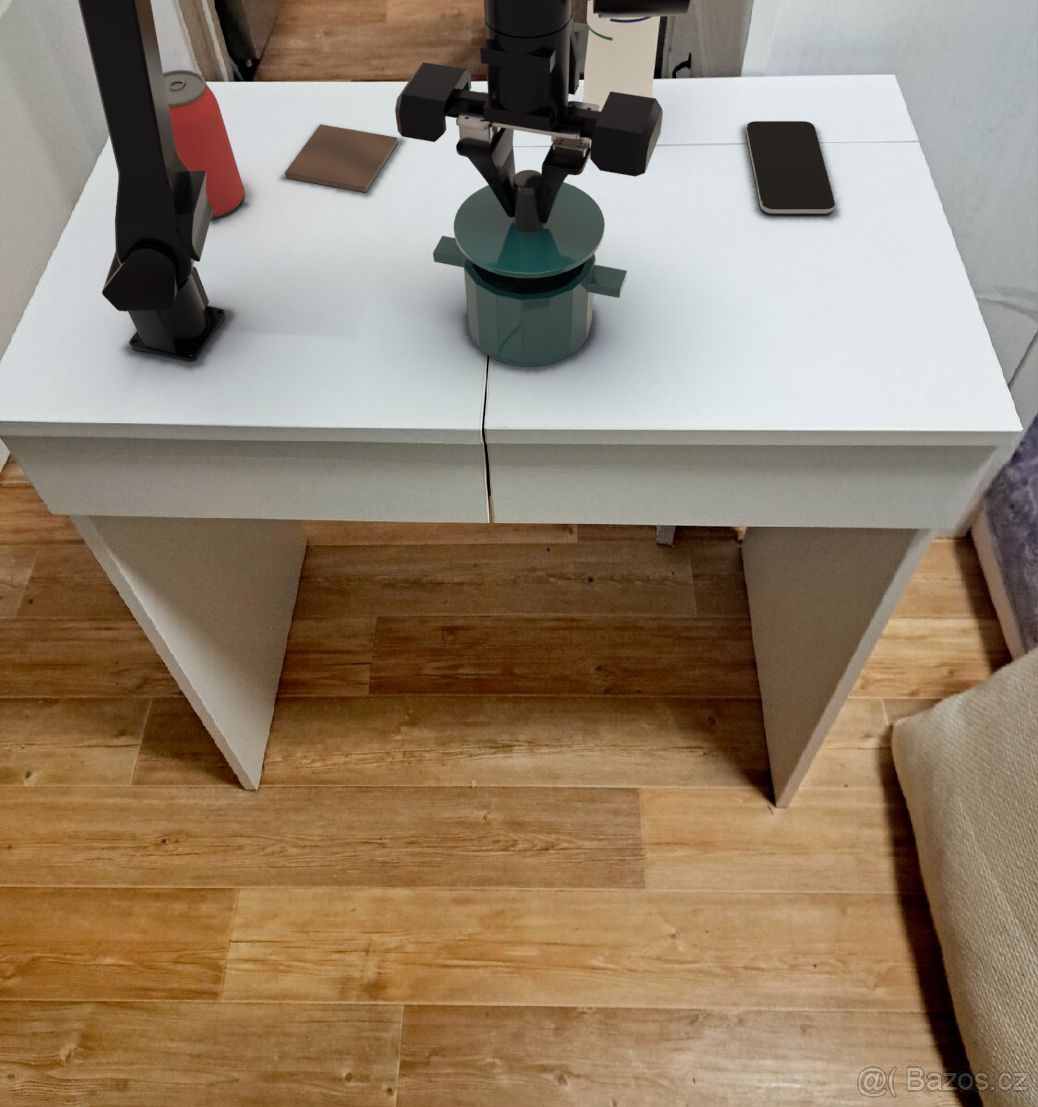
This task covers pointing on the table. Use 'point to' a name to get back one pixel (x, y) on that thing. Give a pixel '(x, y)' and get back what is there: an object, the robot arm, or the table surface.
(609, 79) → the cylindrical container
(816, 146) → the smartphone
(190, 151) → the beer can
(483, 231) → the lid
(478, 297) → the pot
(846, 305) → the table surface
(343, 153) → the trivet
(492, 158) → the robot arm
